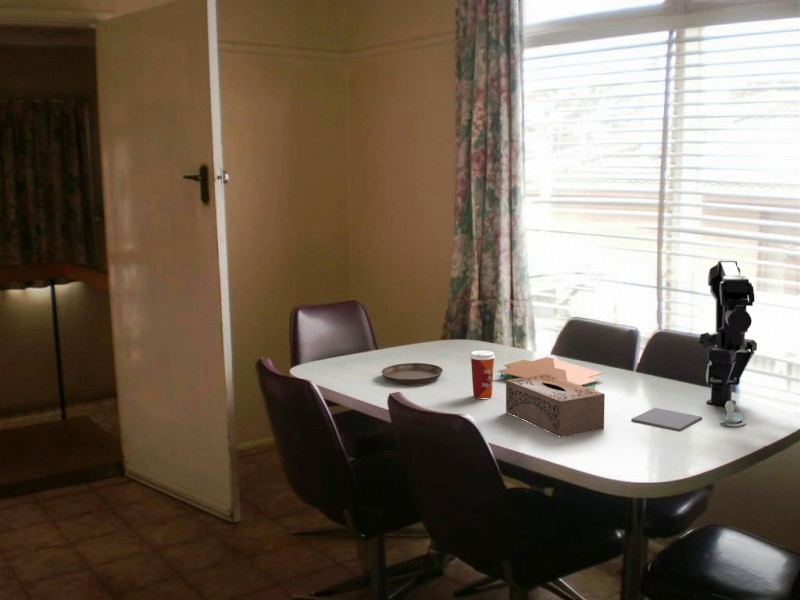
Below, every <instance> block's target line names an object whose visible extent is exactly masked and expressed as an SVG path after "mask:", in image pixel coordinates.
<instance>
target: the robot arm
mask: <svg viewBox="0 0 800 600" xmlns="http://www.w3.org/2000/svg"><path fill="white" fill-rule="evenodd" d="M707 284H708V286H709V290H710V294H711V295H712V297H713V298H714V300H715V332H714V333H709V332H705V333H700V336H699V338H698V340H699V341H698V344H700V345H701V346H702V349H707V348H709V347H712V346H713V347H714V346H715V347H714V348H711V349H710V350H709V351H707V360H709V363H707V367H706V371H705V381H706V383H707V385H710V399H709V400H707V401H705V402H706V404H708V405H715V406H720V407H725V404H726V403H727V402H728V401H732V402H733V404H734V405H735V403H736V400H734V399H733V398H732V395H733V392H732V391H733V386H739V385H740V380H741V377H742V375H743V373H744V372H745V370H746V369H747V366H748V364H749V363H750V361H751V359H752V358H753V355H755V352H756V351H757V350H758V343H757V342H756V341H755V339H751V338H750V339H749V338H746V337H745V336H746V333H747V332H749V328H750V327H751V325H752V321H753V320H752V317H751V315H750V313H749V312H748V311H747V307H753V305H754V303H755V298H756V297H755V290H754V286H753V284H752V282H751V281H750V279H749V278H748V277H747V276H745V275H741V268H740V267H738V261H737V260H734V259H720V260H718V262H717V264H715V265H714V266H713V267H711V268H709V271H708V277H707Z"/></svg>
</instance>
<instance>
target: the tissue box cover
mask: <svg viewBox="0 0 800 600" xmlns="http://www.w3.org/2000/svg"><path fill="white" fill-rule="evenodd" d="M605 395H606V394H605V393H603V392H600V391H598V390H595V389H593V388H590V387H589V388H588V387H585V385H584V386H581V385H578V384H575V383H572V382H569V381H566V380H564V379H561V378H558V377H555V376H552V375H549V374H542V375H536V376H529V377H523V378H521V377H520V378H516V379H515V378H514V379H512V378H509V380H508V379H507V380H506V379H505V413H506V412H508V413H510V414H512V415H515V416H517V417H519V418H521V419H524V420H526V421H528V422H530V423H532V424H534V425H536V426H538V427H537V428H539V427H540V428H539V429H541V428H543V429H545V430H547V431H549V432H548V433H550V432H551V433H550V434H552V433H553V434H552V435H554V434H555V435H554V436H556V435H557V437H558V436H560V437H559V438H564V437H563V436H566V437H570V435H571V436H574V435H575V434H576V435H581V434H586V433H589V432H596V431H601V430H604V429H605ZM508 413H507V414H508ZM510 414H509V415H510ZM512 415H511V416H512ZM519 418H518V419H519ZM521 419H520V420H521ZM530 423H529V424H530ZM532 424H531V425H532ZM534 425H533V426H534ZM536 426H535V427H536ZM543 429H542V430H543ZM545 430H544V431H545ZM547 431H546V432H547Z"/></svg>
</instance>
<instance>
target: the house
mask: <svg viewBox="0 0 800 600" xmlns="http://www.w3.org/2000/svg"><path fill="white" fill-rule="evenodd" d="M502 366H503V367H506V368H504V369H501V370H497V372H498V373H500V379H501V378H503V379H504V378H505V381H506V380H510V376H511V379H517V378H523V377H529V376H536V375H542V374H549V375H552V376H555V377H558V378H561V379H564V380H566V381H569V382H572V383H575V384H578V385H581V386H584V387H586V388H589V389H592V390H595V389H596V382H598V381H600V380H599V379H597V378H594V377H595V376H600V375H603V374H604V372H601V371H598V370H594V369H591V368H587V367H584V366H581V365H578V364H574V363H570V362H567V361H563V360H560V359H556V358H554V357H549V356H545V357H541V358H538V359H535V360H527V359H521V360H516V361H514V362H510V363H507V364H503V365H502ZM512 376H513V377H512ZM507 377H508V378H507ZM516 377H517V378H516Z"/></svg>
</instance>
